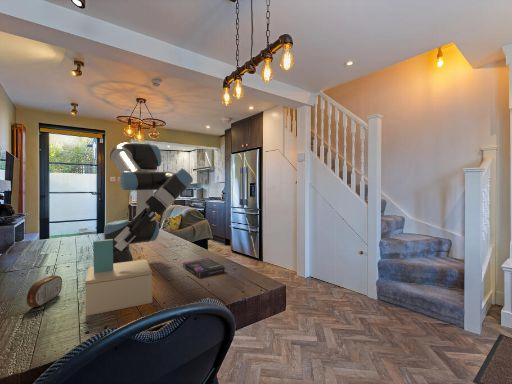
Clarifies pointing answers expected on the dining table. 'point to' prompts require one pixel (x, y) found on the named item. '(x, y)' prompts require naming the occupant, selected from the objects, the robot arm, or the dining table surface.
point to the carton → (118, 294)
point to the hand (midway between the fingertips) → (117, 245)
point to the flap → (113, 265)
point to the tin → (44, 291)
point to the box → (203, 267)
